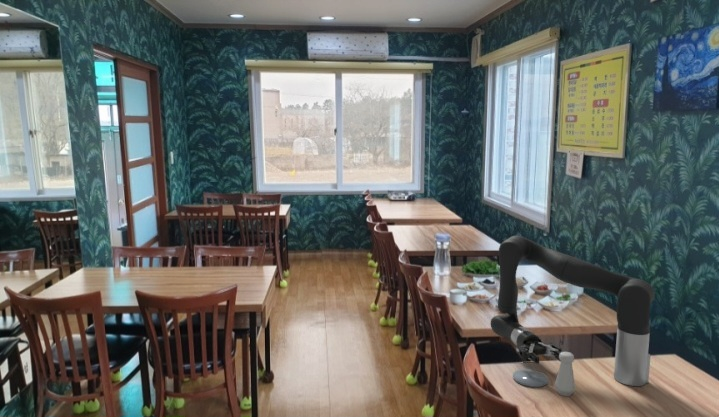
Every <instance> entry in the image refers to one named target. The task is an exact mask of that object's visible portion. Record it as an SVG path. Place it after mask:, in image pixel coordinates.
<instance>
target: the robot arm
mask: <svg viewBox="0 0 719 417" xmlns="http://www.w3.org/2000/svg"><path fill="white" fill-rule="evenodd" d="M523 260H525V261H529V262H531V263H535V264H536V265H539V266H540V267H543V269H545V270H546V271H547V272H548V273H549V274H550V275H552V276H553V277H554V278H556V279H558V280H559V281H561V282H564V283H567V284H570V285H571V286H574V287H579V288H582V289H589V290H597V291H602V292H605V293H609V295H610V294H611V295H613V296H616V297H617V301H616V302H617V303H616V322H617V326H616V327H617V329H616V330H617V331H616V344H615V356H614V357H615V358H614V370H613V371H614V372H613V379H614V380H615V381H617V382H619V383H620V384H623V385H626V386H630V387H642V386H645V385H646V384H648V383H649V381H650V369H651V368H650V366H651V354H650V353H649V344H650V334H651V324H650V312H651V304H652V303H653V301H654V300H655V290H654V288H653V286H651V284H650V283H648V282H647V281H646V280H642V279H641V278H640V279H639V278H636V277H632V276H629V275H628V276H627V275H624V274H620V273H616V272H613V271H610V270H608V269H606V268H603V267H602V266H598V265H596V264H593V263H591V262H588V261H586V260H583V259H580V258H577V257H574V256H572V255H568V254H565V253H563V252H560V251H558V250H554V249H552V248H549V247H546V246H543V245H541V244H539V243H537V242H534V241H533V240H532V239H531V240H530V239H528V238H526V237H524V236H521V235H513V236H512V235H511V236H510V237H508V238H507V239H505V240H504V241H502V242H501V244H500V245H499V247H498V262H499V263H498V264H499V290H498V298H497V299H498V300H497V310H498V311H499V312H502V313H503V314H501V315H500V314H499V315H494V316H492V318H491V319H490V328H491V330H492V331H493V333H495V334H496V335H497V336H499V337H502V338H504V339H508V340H509V341H511V342H512V343H513V344H514V346H515V348H516V349H515V352H516V354H518V355H519V357H520V358H521V359H523V360H526V359H528V360H531V361H532V362H534V363H536V364H539V363H540V357H539V356H541V355H542V356H545V357H554V358H555V359H557V360H558V361H559V362H560V363H561V361H560V359H559V354H560V353H561V352H563V348H562V347H560V346H559V345H557V344H556V343H554V342H549V344H546V343H543V342H542V340H541V338H540V337H539V336H538V335H537V334H535V333H534V332H533V331H531V330H530V329H528V328H527V327H525V326H523V325H522V324H520V322H519V316H518V311H517V309H518V308H517V305H518V297H519V289H518V288H519V287H518V284H517V270H518V267H519V263H520V262H521V261H523Z"/></svg>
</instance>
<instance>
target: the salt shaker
mask: <svg viewBox="0 0 719 417" xmlns="http://www.w3.org/2000/svg"><path fill="white" fill-rule="evenodd" d="M559 359H560V361H561V362H560V361H559V362H560V364H559V367H558V372H557V375H556V379H555V382H554V387H555V389H556V392H557V394H559V395H561V396H563V397H570V396H572V395H573V392H574V391H575V389H576V384H575V383H576V382H575V376H574V369H573V363H574V362H575V355H574V354H573V353H572V352H569V351H562V352H561V353H560V354H559Z"/></svg>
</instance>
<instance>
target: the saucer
mask: <svg viewBox="0 0 719 417" xmlns="http://www.w3.org/2000/svg"><path fill="white" fill-rule="evenodd" d="M512 373H513V374H512V378H513V380H514V381H515V382H517V384H520V385H523V386H527V387H532V388H540V387H545V386H546V385H548V383H549V377H548V375H546V374H545V373H543V372H540V371H538V370H535V369H529V368H521V369H518V370H515V371H514V372H512Z"/></svg>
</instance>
